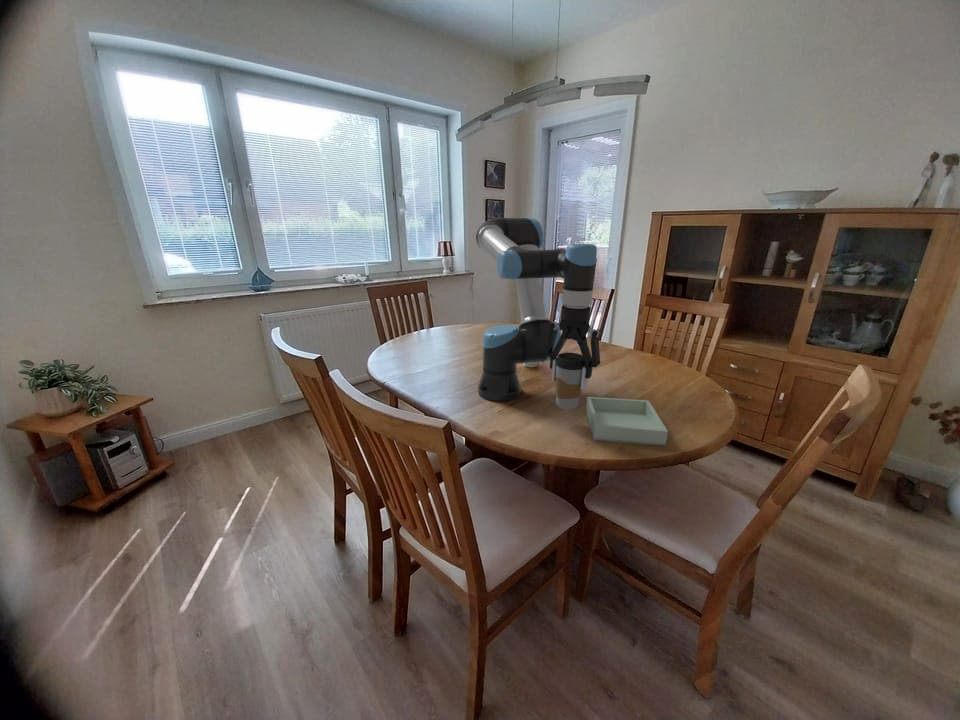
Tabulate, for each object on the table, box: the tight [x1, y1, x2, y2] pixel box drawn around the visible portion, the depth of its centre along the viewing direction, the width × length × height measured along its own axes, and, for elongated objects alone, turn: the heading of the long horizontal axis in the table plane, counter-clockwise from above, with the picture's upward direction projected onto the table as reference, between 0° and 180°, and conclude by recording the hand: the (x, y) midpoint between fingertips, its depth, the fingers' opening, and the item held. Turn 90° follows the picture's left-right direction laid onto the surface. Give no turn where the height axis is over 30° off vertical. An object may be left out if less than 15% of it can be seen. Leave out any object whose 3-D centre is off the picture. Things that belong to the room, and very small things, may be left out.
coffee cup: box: [555, 352, 585, 411], centre depth 103 cm, size 8×8×15 cm
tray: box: [585, 396, 669, 447], centre depth 105 cm, size 18×18×4 cm
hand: (568, 383), depth 103 cm, fingers closed on coffee cup, 8 cm apart
